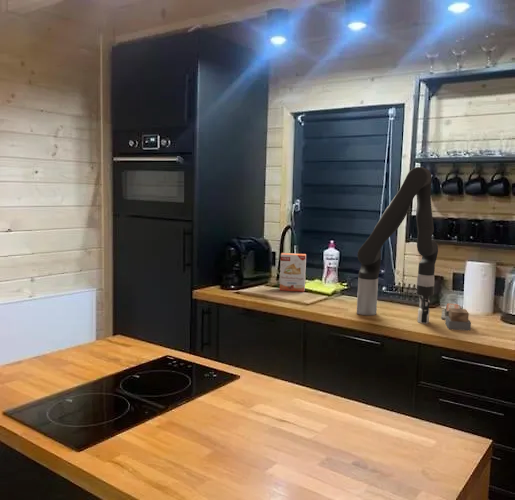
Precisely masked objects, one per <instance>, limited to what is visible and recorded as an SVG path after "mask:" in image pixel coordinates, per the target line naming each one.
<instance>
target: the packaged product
mask: <svg viewBox="0 0 515 500" xmlns="http://www.w3.org/2000/svg"><path fill="white" fill-rule="evenodd" d="M449 308H455V309H462V306H461V305H460V304H459V303H451V302H450V303H447V304H446V306H445V308H444V307H443V308H441V316H440V318H441V320H442V321H443V320H444V321H446V316H449Z"/></svg>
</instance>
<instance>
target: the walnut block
mask: <svg viewBox="0 0 515 500" xmlns="http://www.w3.org/2000/svg"><path fill="white" fill-rule="evenodd" d="M469 315H470V313H469V311H468V309H466V308H461V309H455V308H449V318H450V320H451V321H458V322H468V320H469Z"/></svg>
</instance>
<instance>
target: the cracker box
mask: <svg viewBox="0 0 515 500" xmlns="http://www.w3.org/2000/svg"><path fill="white" fill-rule="evenodd" d="M306 266H307V254H306V253H292V252H291V253H289V252H281V253H280V266H279V268H280V270H279V271H280V272H279V291H287V292H288V291H289V292H300V293H301V292H302V293H304V292H305V290H306V270H307V269H306V268H307V267H306Z"/></svg>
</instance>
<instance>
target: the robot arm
mask: <svg viewBox="0 0 515 500" xmlns="http://www.w3.org/2000/svg"><path fill="white" fill-rule="evenodd" d="M431 191H432V173H431V171H430V170H429V169H428V168H426V167H421V166H416V167H414V168H412V169H410V170H409V171H408V172H407V174H406V177H405V178H404V180H403V182H402V184H401V185H400V188H399V190H398V192H397V193H396V195H395V196H394V197H393V198H392V200H391V201H390V203H389V205H388V206H387V207H386V208H385V210H384V212H383V213H382V215H381V217H380V219H379V220H378V222H377V223H376V225H375V226H374V229H373V231H372V232H371V233H370V235H369V236H368V238H367V239H366V240H365V242H364V243H363V244H362V245H361V246H360V248H359V249H358V251H357V254H356V255H357V260H358V262H359V263H361V265H360V269H359V271H358V274H357V275H358V276H357V278H358V281H357V294H356V295H357V296H356V297H357V299H356V314H357V315H362V316H375V315H377V308H378V287H379V274H380V271H381V261H382V252H381V249H382V247H383V245H384V244H385V242H386V241H387V240H388V239H390V237H392V235H393V234H394V233H395V232H396V231H397V230H398V229H399V228H400V226H401V225H402V223H403V222H404V220H405V219H406V217H407V214H408V212H409V210H410V206H411V204H412V201H413V200H414V198H415V197H416V210H415V211H416V212H415V213H416V214H415V216H416V218H415V219H416V227H417V236H416V237H417V240H416V247H417V252H418V254H419V255H420V256H421V260H420V261H419V262H418V270H417V277H416V290H415V291H416V292H415V293H416V294H417V295H419V304H418V305H419V306H418V307H419V308H421V309H422V320H421V321H422V323H426V322H427V315H428V314H429V315H430V313H429V309H430V302H431V301H430V298H429V297H430V296H433V295H435V294H434V293H435V269H436V267H435V266H436V262H437V257H438V255H439V245H438V243H437V242H436V240H434V239H433V238H432V237H433V236H432V235H433V233H434V232H435V231H434V230H435V228H434V218H433V209H432V196H431V195H432V192H431ZM424 310H426V311H424ZM422 323H421V324H422Z"/></svg>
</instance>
